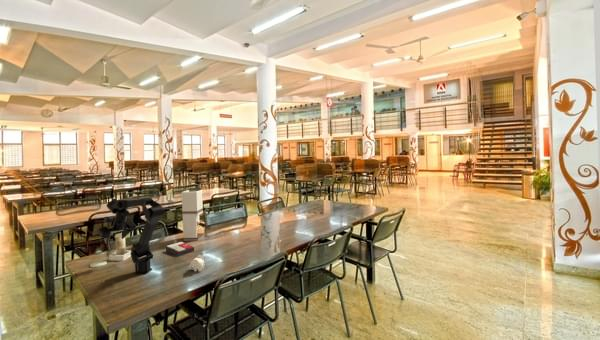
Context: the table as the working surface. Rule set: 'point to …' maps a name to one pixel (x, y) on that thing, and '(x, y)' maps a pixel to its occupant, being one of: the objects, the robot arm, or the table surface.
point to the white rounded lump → (197, 263)
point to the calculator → (179, 249)
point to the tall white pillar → (191, 214)
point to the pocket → (120, 256)
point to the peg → (120, 245)
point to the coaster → (98, 264)
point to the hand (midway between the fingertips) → (114, 240)
